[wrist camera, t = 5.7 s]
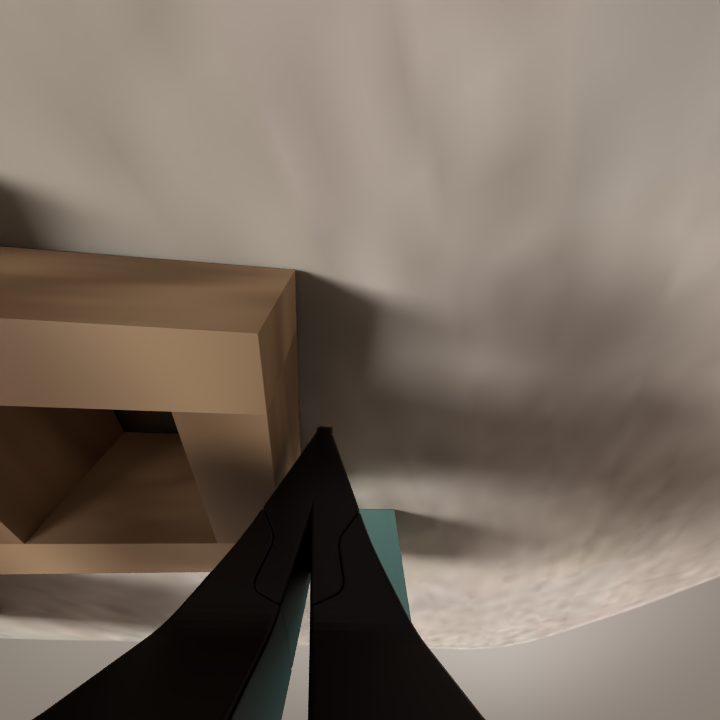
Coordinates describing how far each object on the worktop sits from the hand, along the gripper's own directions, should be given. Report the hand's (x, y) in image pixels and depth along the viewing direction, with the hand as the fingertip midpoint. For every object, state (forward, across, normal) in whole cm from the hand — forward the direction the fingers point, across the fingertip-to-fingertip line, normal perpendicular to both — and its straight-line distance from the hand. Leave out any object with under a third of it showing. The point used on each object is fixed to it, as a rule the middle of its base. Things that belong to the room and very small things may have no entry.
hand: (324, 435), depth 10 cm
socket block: (+2, +6, 0) cm, 6 cm away
